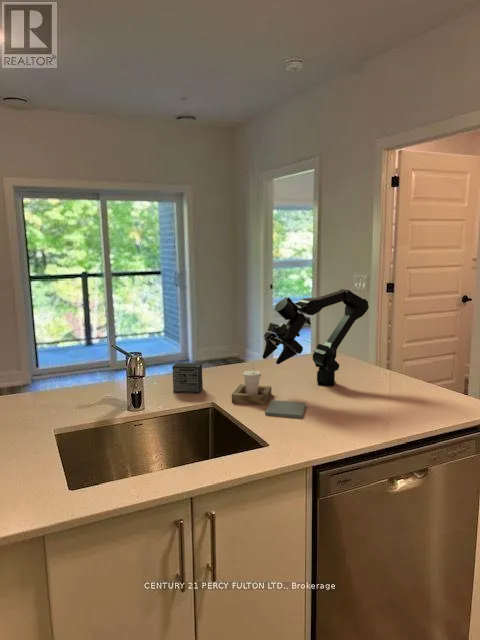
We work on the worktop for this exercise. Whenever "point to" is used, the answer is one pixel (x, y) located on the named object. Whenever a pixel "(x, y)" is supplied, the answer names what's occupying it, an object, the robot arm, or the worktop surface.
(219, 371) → the worktop surface
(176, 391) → the small box
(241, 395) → the holder
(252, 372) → the smoothie
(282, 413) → the coaster
